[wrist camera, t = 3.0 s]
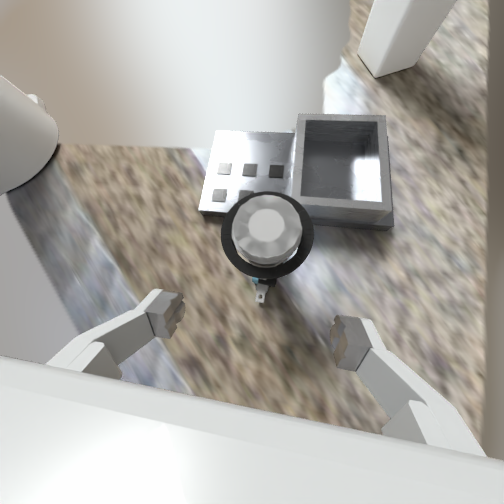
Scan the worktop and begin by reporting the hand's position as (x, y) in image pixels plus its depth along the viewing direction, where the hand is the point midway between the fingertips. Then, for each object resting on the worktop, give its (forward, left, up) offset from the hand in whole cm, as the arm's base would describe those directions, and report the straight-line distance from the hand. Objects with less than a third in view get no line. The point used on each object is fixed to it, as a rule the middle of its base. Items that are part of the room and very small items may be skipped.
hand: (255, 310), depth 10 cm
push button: (0, +4, -9) cm, 10 cm away
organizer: (+2, +15, -9) cm, 17 cm away
